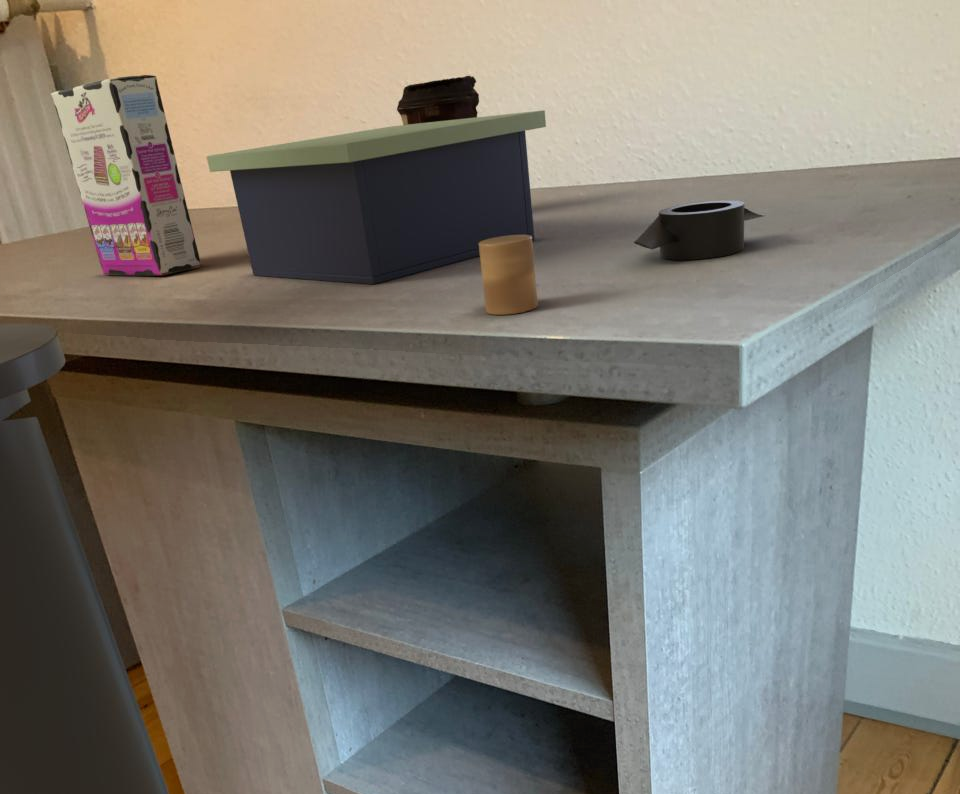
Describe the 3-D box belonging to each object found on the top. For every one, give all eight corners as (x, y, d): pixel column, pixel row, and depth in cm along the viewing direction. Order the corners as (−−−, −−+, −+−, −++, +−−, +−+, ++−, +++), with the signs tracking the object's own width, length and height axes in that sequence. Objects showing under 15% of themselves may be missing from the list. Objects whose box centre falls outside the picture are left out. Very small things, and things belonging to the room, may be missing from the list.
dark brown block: (511, 213, 103) (497, 71, 96) (458, 227, 98) (439, 79, 91) (451, 215, 108) (434, 80, 102) (397, 228, 103) (376, 88, 97)
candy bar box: (205, 266, 95) (158, 73, 87) (162, 277, 92) (108, 77, 84) (144, 265, 102) (94, 86, 94) (101, 275, 99) (46, 91, 91)
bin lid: (349, 162, 68) (346, 143, 68) (209, 171, 82) (206, 156, 81) (546, 126, 79) (545, 110, 79) (394, 140, 93) (392, 126, 92)
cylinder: (511, 316, 58) (504, 245, 56) (475, 313, 60) (467, 244, 58) (548, 304, 60) (542, 234, 58) (512, 301, 62) (505, 234, 60)
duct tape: (787, 251, 65) (788, 204, 64) (637, 269, 66) (635, 223, 65) (760, 235, 72) (761, 192, 71) (624, 252, 73) (622, 210, 71)
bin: (373, 284, 74) (353, 160, 70) (253, 275, 86) (229, 169, 82) (535, 240, 84) (525, 129, 80) (406, 238, 96) (392, 141, 91)
